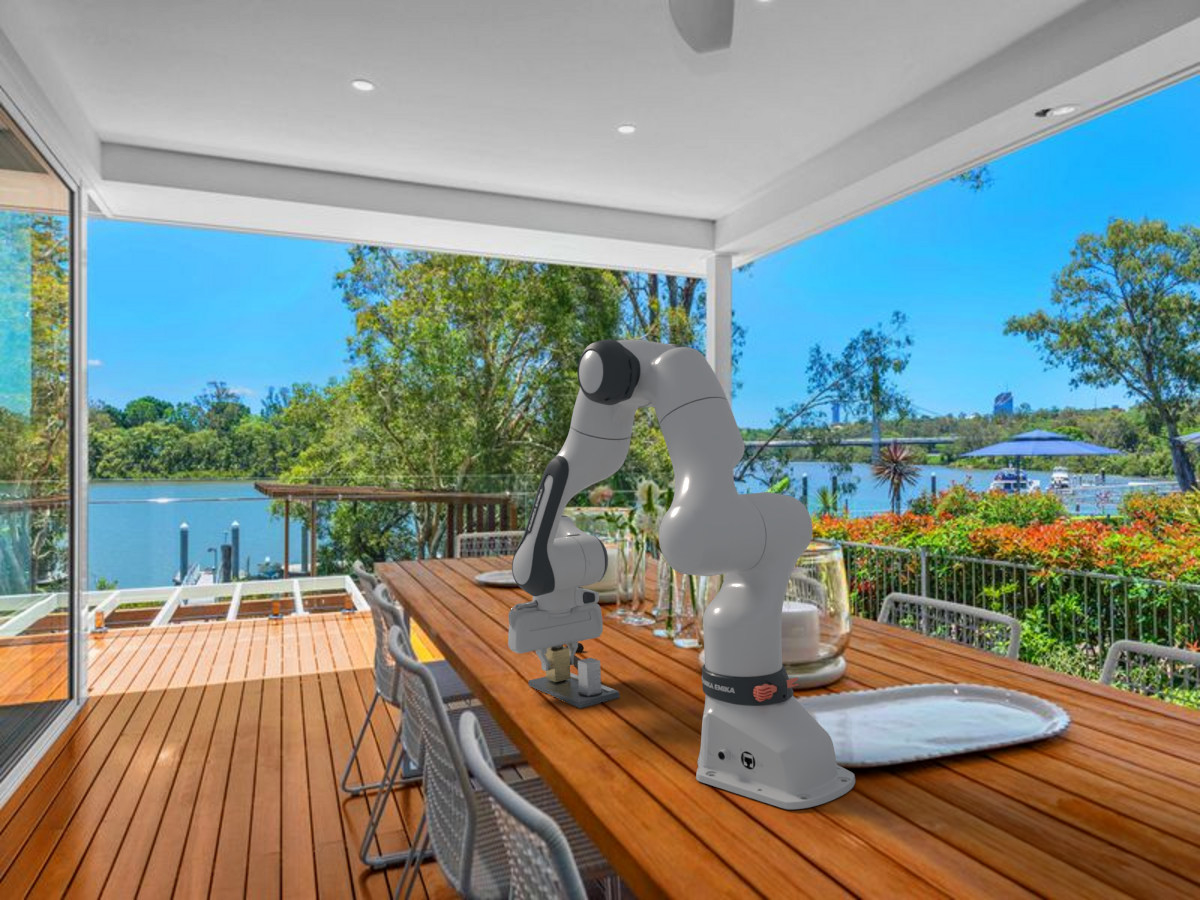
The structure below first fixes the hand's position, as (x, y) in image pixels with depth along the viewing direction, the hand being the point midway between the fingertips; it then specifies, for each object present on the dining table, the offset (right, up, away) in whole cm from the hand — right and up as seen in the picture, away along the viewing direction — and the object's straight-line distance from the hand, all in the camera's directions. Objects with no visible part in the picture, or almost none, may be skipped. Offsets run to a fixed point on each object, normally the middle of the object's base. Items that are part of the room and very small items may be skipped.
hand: (557, 667), depth 156 cm
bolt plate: (+3, -4, -4) cm, 6 cm away
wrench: (+5, -4, +12) cm, 14 cm away
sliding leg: (0, -2, 0) cm, 2 cm away
